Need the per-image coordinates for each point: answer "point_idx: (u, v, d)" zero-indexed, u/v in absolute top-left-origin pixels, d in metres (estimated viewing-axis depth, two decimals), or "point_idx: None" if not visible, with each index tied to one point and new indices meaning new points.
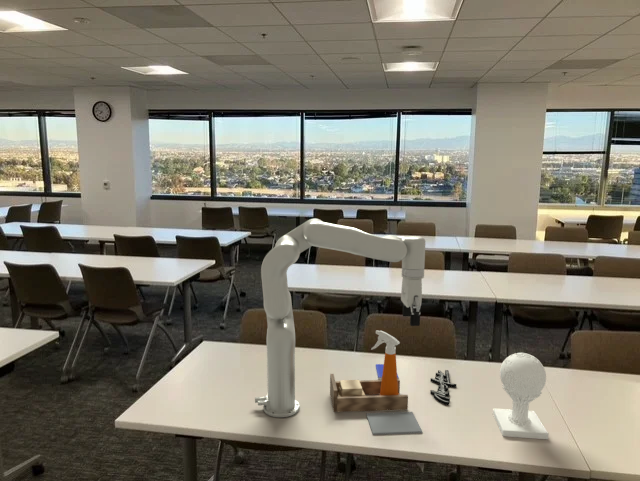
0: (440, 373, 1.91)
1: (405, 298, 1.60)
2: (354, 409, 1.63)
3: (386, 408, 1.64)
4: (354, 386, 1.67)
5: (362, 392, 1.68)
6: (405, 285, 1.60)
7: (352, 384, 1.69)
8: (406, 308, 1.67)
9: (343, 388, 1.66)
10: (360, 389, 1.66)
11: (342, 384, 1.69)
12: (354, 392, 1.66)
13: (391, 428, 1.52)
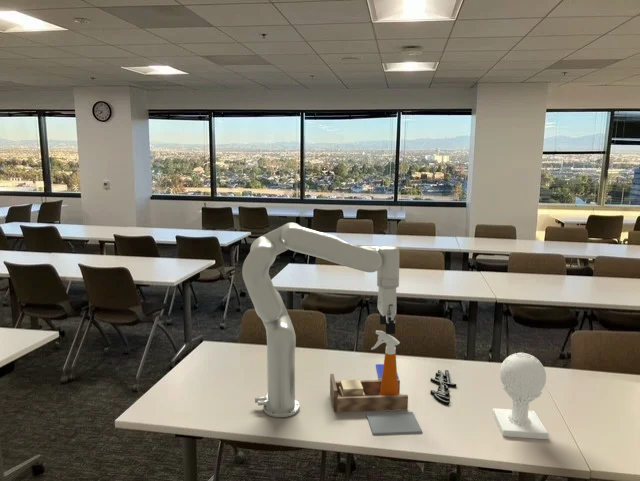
0: (440, 373, 1.91)
1: (380, 307, 1.63)
2: (354, 409, 1.63)
3: (386, 408, 1.64)
4: (355, 386, 1.67)
5: None
6: (380, 294, 1.63)
7: (353, 384, 1.69)
8: (383, 316, 1.70)
9: (344, 388, 1.66)
10: (361, 389, 1.66)
11: (343, 384, 1.68)
12: (355, 392, 1.66)
13: (391, 428, 1.52)
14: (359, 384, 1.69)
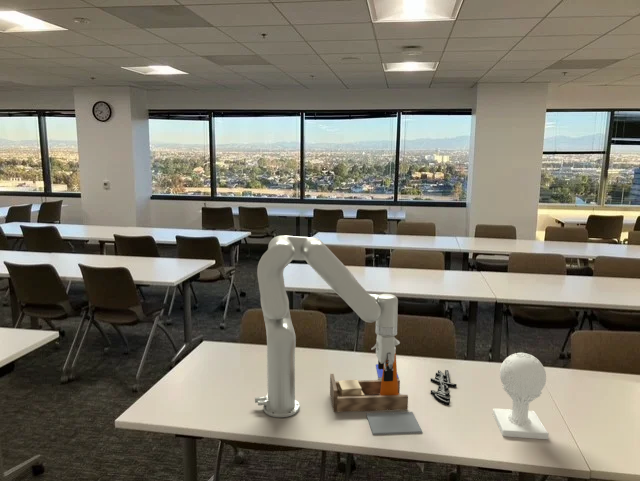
0: (440, 373, 1.91)
1: (379, 354, 1.65)
2: (354, 409, 1.63)
3: (386, 408, 1.64)
4: (353, 386, 1.68)
5: (361, 392, 1.68)
6: (379, 342, 1.65)
7: (351, 384, 1.69)
8: None
9: (342, 388, 1.66)
10: (359, 389, 1.66)
11: (341, 384, 1.69)
12: (354, 392, 1.66)
13: (391, 428, 1.52)
14: (357, 384, 1.69)
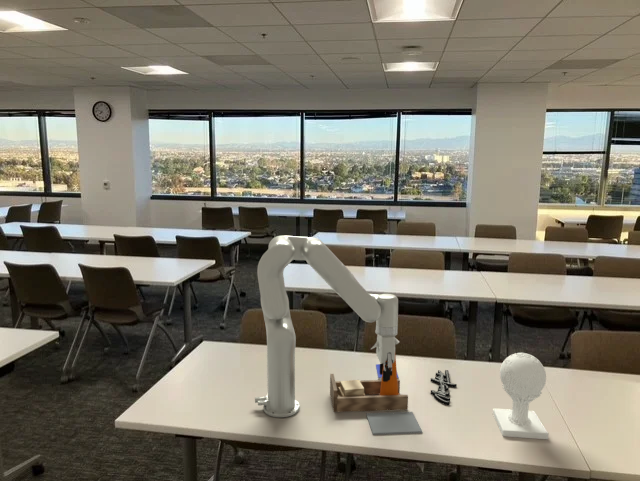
0: (440, 373, 1.91)
1: (379, 354, 1.65)
2: (354, 409, 1.63)
3: (386, 408, 1.64)
4: (355, 386, 1.67)
5: None
6: (379, 341, 1.65)
7: (353, 384, 1.69)
8: None
9: (345, 389, 1.65)
10: (362, 389, 1.66)
11: (343, 385, 1.68)
12: (356, 393, 1.66)
13: (391, 428, 1.52)
14: (359, 384, 1.69)
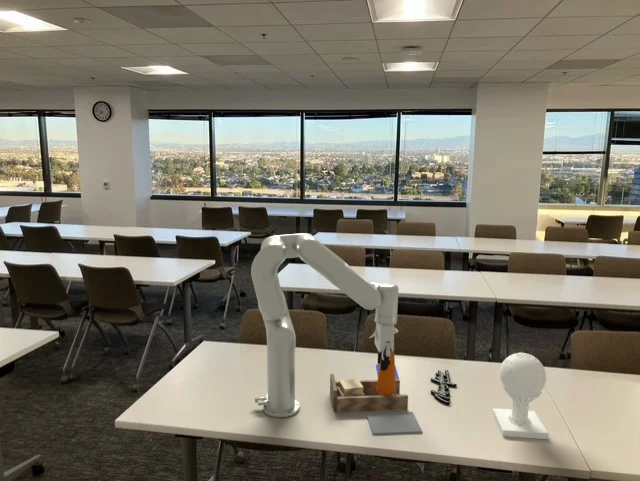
0: (440, 373, 1.91)
1: (378, 343, 1.65)
2: (354, 409, 1.63)
3: (386, 408, 1.64)
4: (354, 385, 1.68)
5: None
6: (378, 330, 1.65)
7: (352, 383, 1.69)
8: None
9: (345, 388, 1.66)
10: (361, 388, 1.67)
11: (342, 384, 1.68)
12: (356, 391, 1.66)
13: (391, 428, 1.52)
14: (358, 383, 1.69)
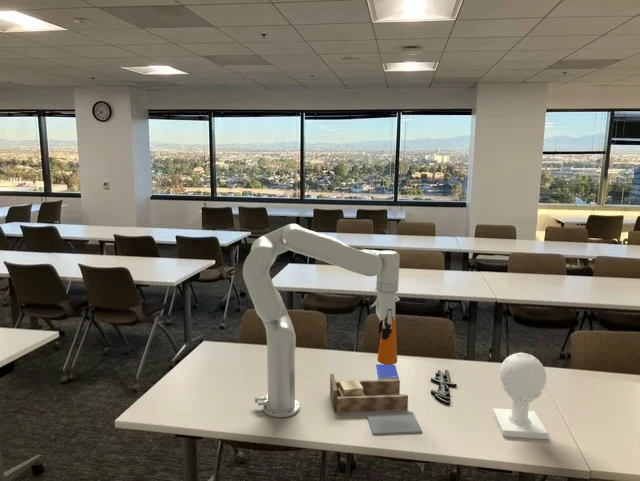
0: (440, 373, 1.91)
1: (379, 311, 1.63)
2: (354, 409, 1.63)
3: (386, 408, 1.64)
4: (354, 386, 1.68)
5: None
6: (379, 298, 1.63)
7: (352, 384, 1.69)
8: None
9: (345, 389, 1.66)
10: (361, 389, 1.66)
11: (342, 385, 1.68)
12: (356, 392, 1.66)
13: (391, 428, 1.52)
14: (358, 384, 1.69)
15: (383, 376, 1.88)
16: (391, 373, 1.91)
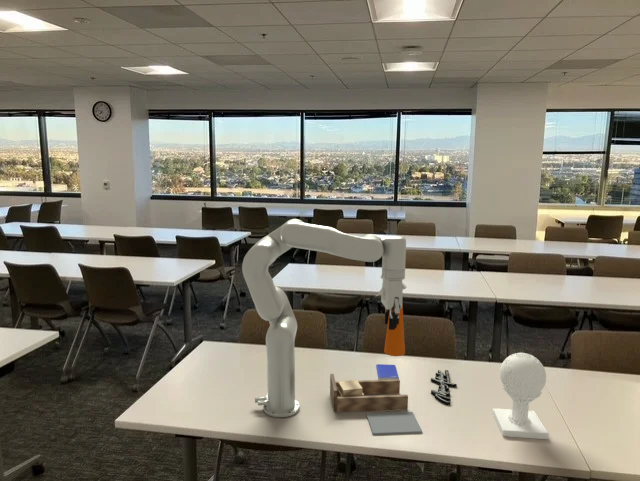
0: (440, 373, 1.91)
1: (385, 300, 1.54)
2: (354, 409, 1.63)
3: (386, 408, 1.64)
4: (353, 386, 1.67)
5: None
6: (385, 286, 1.54)
7: (351, 384, 1.69)
8: (388, 315, 1.60)
9: (344, 389, 1.65)
10: (360, 389, 1.66)
11: (341, 385, 1.68)
12: (355, 393, 1.65)
13: (391, 428, 1.52)
14: (357, 384, 1.69)
15: (383, 376, 1.88)
16: (391, 373, 1.91)
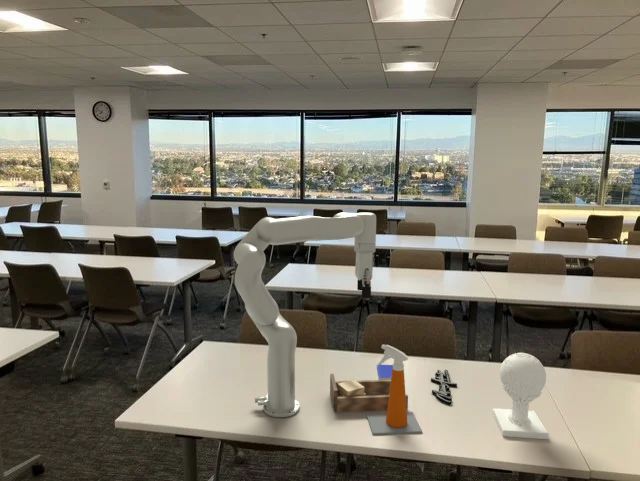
0: (440, 373, 1.91)
1: (357, 271, 1.67)
2: (354, 409, 1.63)
3: (386, 408, 1.64)
4: (355, 386, 1.67)
5: None
6: (357, 259, 1.67)
7: (352, 384, 1.69)
8: (360, 282, 1.75)
9: (348, 390, 1.64)
10: (363, 388, 1.67)
11: (343, 387, 1.67)
12: (358, 392, 1.66)
13: (391, 428, 1.52)
14: (357, 384, 1.69)
15: (383, 376, 1.88)
16: (391, 374, 1.90)
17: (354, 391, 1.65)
